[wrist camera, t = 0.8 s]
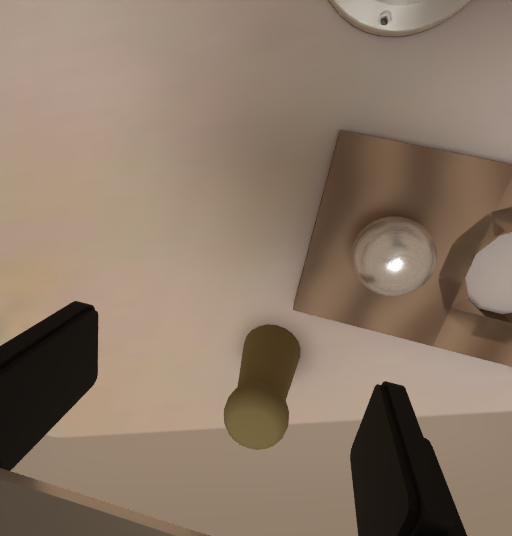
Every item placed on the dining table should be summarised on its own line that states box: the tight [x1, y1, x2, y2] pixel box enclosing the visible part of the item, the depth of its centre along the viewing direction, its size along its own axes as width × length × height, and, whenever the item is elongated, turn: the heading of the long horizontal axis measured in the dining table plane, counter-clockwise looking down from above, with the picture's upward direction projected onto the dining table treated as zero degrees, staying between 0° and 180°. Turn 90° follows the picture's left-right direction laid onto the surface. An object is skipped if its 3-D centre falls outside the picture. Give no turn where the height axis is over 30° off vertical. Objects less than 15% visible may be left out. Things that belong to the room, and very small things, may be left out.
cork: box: [224, 325, 300, 450], centre depth 30 cm, size 6×6×11 cm
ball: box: [351, 216, 437, 296], centre depth 25 cm, size 6×6×6 cm
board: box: [293, 130, 512, 367], centre depth 28 cm, size 24×16×2 cm, turn 79°
